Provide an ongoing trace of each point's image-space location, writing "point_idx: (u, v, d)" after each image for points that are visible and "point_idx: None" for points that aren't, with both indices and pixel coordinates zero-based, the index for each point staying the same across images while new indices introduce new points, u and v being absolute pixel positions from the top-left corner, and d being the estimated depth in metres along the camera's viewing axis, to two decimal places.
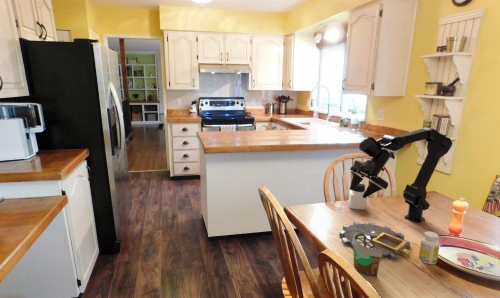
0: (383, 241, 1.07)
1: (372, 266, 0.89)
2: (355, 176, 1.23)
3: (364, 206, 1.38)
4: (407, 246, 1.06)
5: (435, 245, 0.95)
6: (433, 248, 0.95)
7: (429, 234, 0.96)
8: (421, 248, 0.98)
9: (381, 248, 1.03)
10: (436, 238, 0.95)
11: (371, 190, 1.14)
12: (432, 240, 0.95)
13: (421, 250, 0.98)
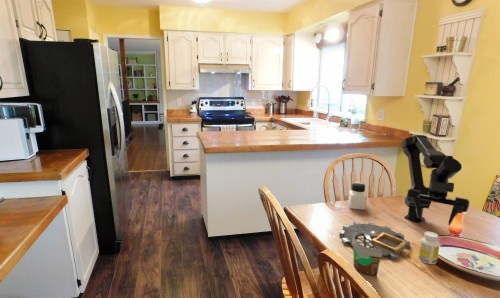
0: (383, 241, 1.07)
1: (372, 266, 0.89)
2: (419, 201, 1.05)
3: (364, 206, 1.38)
4: (407, 246, 1.06)
5: (435, 245, 0.95)
6: (433, 248, 0.95)
7: (429, 234, 0.96)
8: (421, 248, 0.98)
9: (381, 248, 1.03)
10: (436, 238, 0.95)
11: None
12: (432, 240, 0.95)
13: (421, 250, 0.98)
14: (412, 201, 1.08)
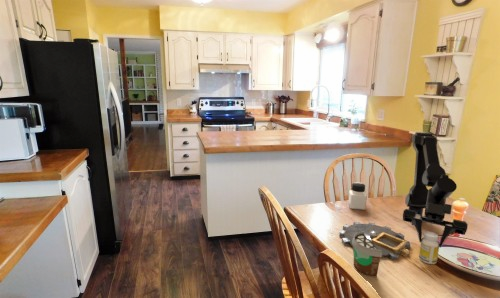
0: (383, 241, 1.07)
1: (372, 266, 0.89)
2: (421, 224, 0.99)
3: (364, 206, 1.38)
4: (407, 246, 1.06)
5: (435, 245, 0.95)
6: (433, 248, 0.95)
7: (429, 234, 0.96)
8: (421, 248, 0.98)
9: (381, 248, 1.03)
10: (436, 238, 0.95)
11: (445, 236, 0.96)
12: (432, 240, 0.95)
13: (421, 250, 0.98)
14: (413, 223, 1.02)
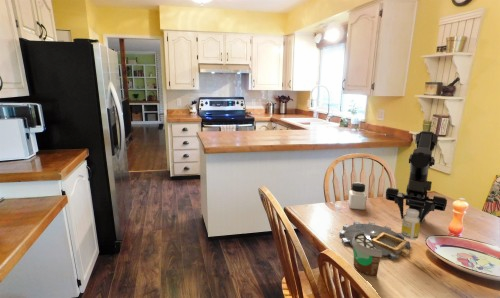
0: (383, 241, 1.07)
1: (372, 266, 0.89)
2: None
3: (364, 206, 1.38)
4: (407, 246, 1.06)
5: (416, 221, 0.97)
6: (414, 224, 0.97)
7: (410, 211, 0.99)
8: (403, 225, 1.00)
9: (381, 248, 1.03)
10: (417, 214, 0.97)
11: (426, 213, 0.98)
12: (413, 216, 0.98)
13: (403, 227, 1.00)
14: (396, 201, 1.05)
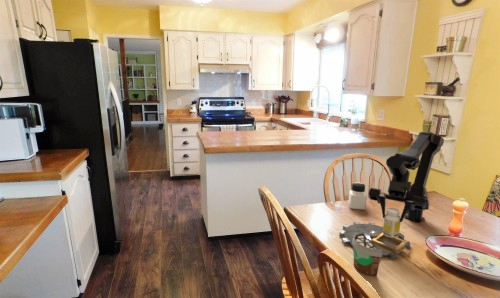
0: (383, 241, 1.07)
1: (372, 266, 0.89)
2: (385, 201, 1.06)
3: (364, 206, 1.38)
4: (407, 246, 1.06)
5: (396, 220, 1.01)
6: (394, 223, 1.01)
7: (391, 210, 1.03)
8: (384, 223, 1.04)
9: (381, 248, 1.03)
10: (397, 213, 1.01)
11: (406, 212, 1.02)
12: (393, 215, 1.02)
13: (384, 225, 1.04)
14: (378, 201, 1.09)
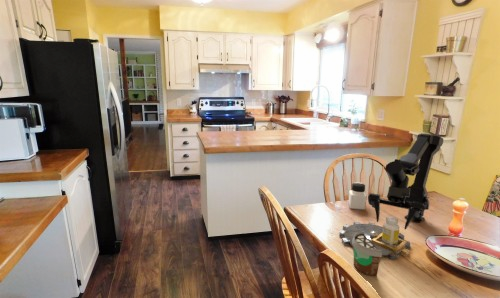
0: None
1: (372, 266, 0.89)
2: (379, 205, 1.07)
3: (364, 206, 1.38)
4: (407, 246, 1.06)
5: (394, 228, 1.02)
6: (393, 232, 1.02)
7: (390, 219, 1.04)
8: (383, 232, 1.05)
9: (381, 248, 1.03)
10: (396, 222, 1.02)
11: (410, 219, 1.02)
12: (392, 224, 1.03)
13: (383, 234, 1.05)
14: (373, 205, 1.10)
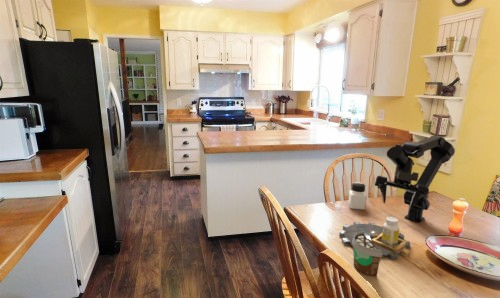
0: None
1: (372, 266, 0.89)
2: None
3: (364, 206, 1.38)
4: (407, 246, 1.06)
5: (394, 229, 1.02)
6: (393, 232, 1.02)
7: (390, 219, 1.04)
8: (383, 232, 1.05)
9: (381, 248, 1.03)
10: (396, 222, 1.02)
11: None
12: (392, 224, 1.03)
13: (383, 234, 1.05)
14: (379, 186, 1.16)
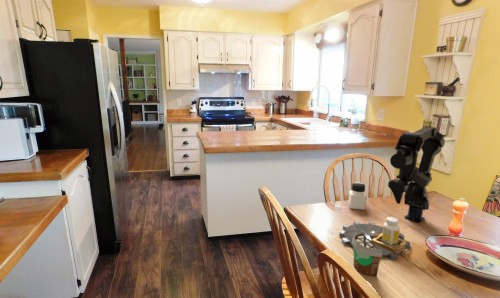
0: None
1: (372, 266, 0.89)
2: None
3: (364, 206, 1.38)
4: (407, 246, 1.06)
5: (394, 229, 1.02)
6: (393, 232, 1.02)
7: (390, 219, 1.04)
8: (383, 232, 1.05)
9: (381, 248, 1.03)
10: (396, 223, 1.02)
11: None
12: (392, 224, 1.02)
13: (383, 234, 1.05)
14: None
